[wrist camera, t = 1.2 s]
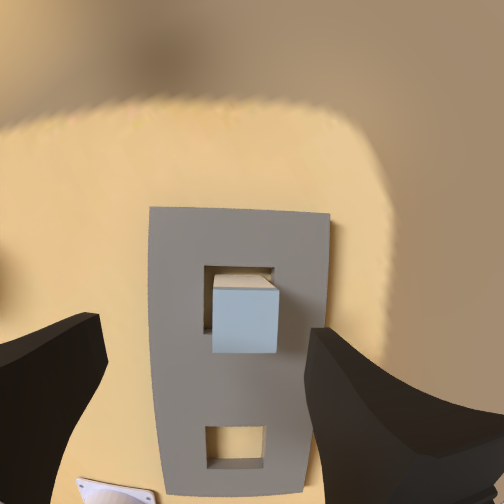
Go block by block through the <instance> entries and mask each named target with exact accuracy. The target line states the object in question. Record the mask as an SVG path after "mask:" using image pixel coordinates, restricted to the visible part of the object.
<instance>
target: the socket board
mask: <svg viewBox="0 0 504 504" xmlns="http://www.w3.org/2000/svg"><path fill="white" fill-rule="evenodd" d="M329 243H330V214H327V213H311V212H294V211H275V210H253V209H227V208H194V207H150V212H149V237H148V320H149V345H150V362H151V377H152V389H153V400H154V410H155V420H156V428H157V436H158V444H159V451H160V458H161V465H162V471H163V477H164V483H165V489H166V494H168V495H180V496H197V497H252V496H269V495H281V494H291V493H300V492H303V488H304V482H305V477H306V471H307V465H308V459H309V453H310V447H311V441H312V434H313V427H312V423H311V419H310V415H309V411H308V407H307V403H306V395H305V386H304V371H305V365H306V358H307V352H308V345H309V338H310V331H311V328H325V316H326V302H327V286H328V267H329ZM205 266H240V267H271V284H272V285H273V286H274V287H276V288H277V289H278V290H279V312H278V332H277V350H276V353H212V329H207V328H204V289H205ZM206 426H218V427H241V426H263V441H262V457H261V458H250V459H207V444H206Z"/></svg>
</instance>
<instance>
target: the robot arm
mask: <svg viewBox="0 0 504 504" xmlns="http://www.w3.org/2000/svg"><path fill="white" fill-rule="evenodd" d="M107 365H108V358H107V353H106V348H105V343H104V338H103V333H102V328H101V322H100V316H99V314H95V313H87V312H83V313H80V314H76V315H74V316H71V317H68V318H66V319H64V320H61V321H59V322H56V323H54V324H52V325H50V326H47V327H45V328H43V329H40V330H38V331H35V332H33V333H30V334H28V335H25V336H23V337H20V338H18V339H15V340H12V341H9V342H6V343H3V344H0V504H50V501H51V496H52V492H53V488H54V483H55V479H56V476H57V472H58V469H59V466H60V463H61V460H62V456H63V454H64V451H65V448H66V446H67V443H68V441H69V438H70V436H71V434H72V432H73V430H74V428H75V426H76V424H77V422H78V421H79V419H80V417H81V415H82V414H83V412H84V410H85V409H86V407H87V405H88V404H89V402H90V400H91V398H92V397H93V395H94V393H95V391H96V390H97V388H98V386H99V384H100V382H101V380H102V377H103V375H104V373H105V370H106V367H107ZM304 386H305V395H306V403H307V407H308V411H309V415H310V419H311V423H312V427H313V431H314V434H315V438H316V442H317V446H318V450H319V454H320V460H321V465H322V473H323V482H324V492H325V504H495V503H494V501H493V499H494V498H495V497H496V496H497V493H498V492H497V490H496V488H495V487H494V484H495V482H496V481H497V480H498V479H499V478H500V477H501V475H502V474H503V473H504V415H502V414H496V413H491V412H485V411H479V410H474V409H470V408H467V407H463V406H460V405H456V404H452V403H450V402H447V401H444V400H441V399H439V398H436V397H434V396H431V395H429V394H426V393H424V392H422V391H420V390H418V389H415V388H413V387H411V386H410V385H408V384H406V383H404V382H402V381H401V380H399V379H397V378H395V377H394V376H392V375H390V374H389V373H387V372H386V371H384V370H383V369H381V368H380V367H378V366H377V365H376V364H374V363H373V362H371V361H370V360H369V359H367V358H366V357H365V356H363V355H362V354H361V353H360V352H358V351H357V350H356V349H355V348H354V347H352V346H351V345H350V344H349V343H348V342H346V341H345V340H344V339H343V338H342V337H340V336H339V335H338V334H337V333H336V332H334V331H333V330H332V329H330V328H311V331H310V338H309V345H308V352H307V358H306V365H305V371H304ZM76 483H77V485H78V488H79V490H80V493H81V495H82V498H83V500H84V504H156V501H155V497H154V493H153V492H152V491H149V490H143V489H135V488H129V487H123V486H117V485H112V484H106V483H101V482H97V481H92V480H88V479H84V478H77V480H76ZM148 497H149V498H148ZM501 504H504V501H503V502H502V503H501Z"/></svg>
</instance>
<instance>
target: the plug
mask: <svg viewBox="0 0 504 504" xmlns="http://www.w3.org/2000/svg"><path fill="white" fill-rule="evenodd" d="M278 312H279V290H278V289H277V288H276V287H274V286H273V285H272V284H271V283H270V282H268V281H267V280H266V279H265V278H264V277H262V276H261V275H229V274H215V277H214V285H213V322H212V353H276V350H277V332H278Z"/></svg>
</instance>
